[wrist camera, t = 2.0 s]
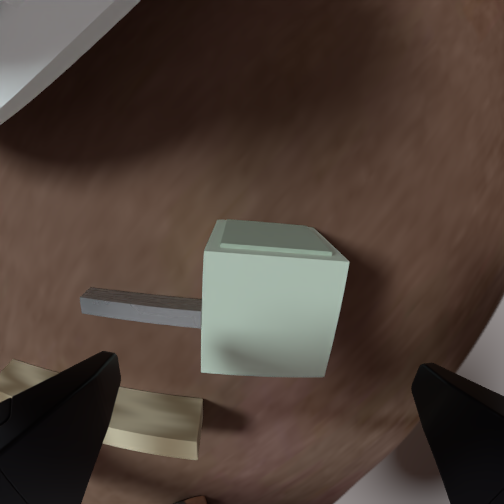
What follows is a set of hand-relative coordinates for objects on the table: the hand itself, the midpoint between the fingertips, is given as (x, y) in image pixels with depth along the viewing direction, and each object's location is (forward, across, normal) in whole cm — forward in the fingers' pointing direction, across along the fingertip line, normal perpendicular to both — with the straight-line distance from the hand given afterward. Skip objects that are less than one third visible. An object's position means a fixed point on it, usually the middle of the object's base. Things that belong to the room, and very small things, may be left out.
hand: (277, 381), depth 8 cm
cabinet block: (+9, 0, 0) cm, 9 cm away
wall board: (+9, +11, +10) cm, 18 cm away
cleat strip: (+9, +6, +2) cm, 11 cm away
